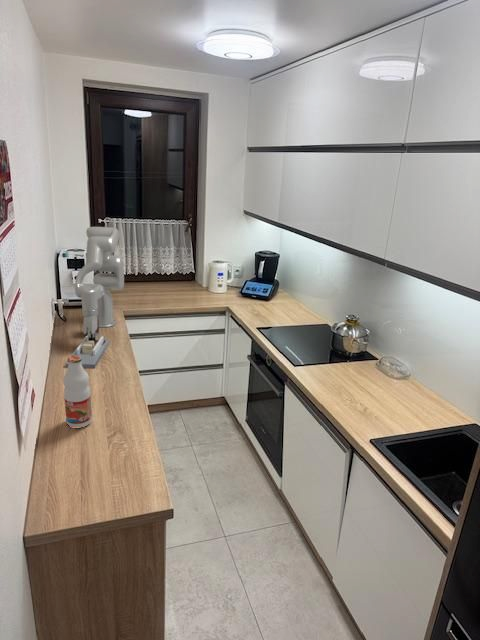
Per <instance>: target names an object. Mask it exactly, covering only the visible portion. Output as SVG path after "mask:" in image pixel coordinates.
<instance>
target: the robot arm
mask: <svg viewBox="0 0 480 640" xmlns="http://www.w3.org/2000/svg"><path fill="white" fill-rule="evenodd" d="M85 231H86V237H87V238H88V239H87V242H86V253H85V255H86V256H85V264H84V265H83V266H82V268H80V269H79V271H78V272H77V274H76V278H75V283H74V284H75V286H74V294H75V295H76V297H77V298H78V299H79V298H80V299H81V305H82V306H81V307H82V308H81V309H82V316H84V317H83V335H84V334H86V333H87V332H88V340H89V341H94V345H95V344H96V340H95V339H96V336H95V331H96V330H97V315H98V321H99V328H110V327H113V326H115V325H116V324H117V321H116V320H115V319H114V303H113V302H114V301H113V299H114V298H113V295H112V293H111V291H120V290H123V289H124V288H125V267H124V266H125V265H124V260H123V258H122V256H120V255H111V253H114V252H115V251H116V249H117V246H118V242H119V241H120V240H119V239H120V232H119V231H120V230H118V229H117V228H116V227H111V226H110V227H109V226H89V227H87V228H86V230H85ZM94 271H99V273H96V274H95V275H94V276H93V279H92V281H93V283H82V282H83V279H84V277H85V276H86V275H89V274H90V273H91V272H94ZM102 272H103V273H102ZM105 272H106V273H105ZM113 272H114V273H113Z"/></svg>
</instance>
